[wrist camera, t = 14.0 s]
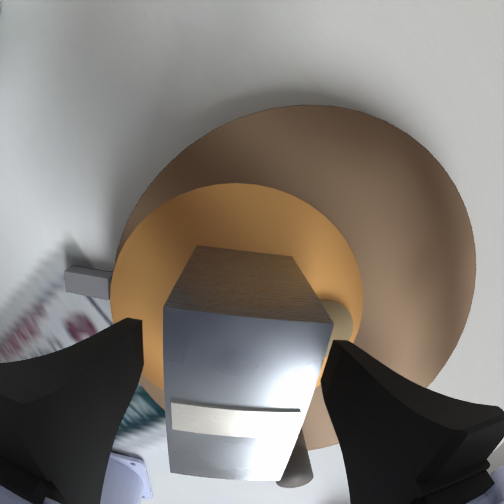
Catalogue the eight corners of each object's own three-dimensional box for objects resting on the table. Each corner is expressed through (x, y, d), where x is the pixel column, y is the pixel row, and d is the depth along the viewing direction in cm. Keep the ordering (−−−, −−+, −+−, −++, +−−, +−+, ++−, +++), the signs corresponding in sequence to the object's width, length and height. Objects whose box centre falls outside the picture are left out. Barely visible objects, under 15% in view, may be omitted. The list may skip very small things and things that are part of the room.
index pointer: (74, 285, 15) (65, 291, 14) (72, 265, 15) (64, 271, 14) (115, 292, 15) (108, 300, 14) (115, 272, 15) (107, 278, 14)
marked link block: (189, 378, 14) (170, 474, 8) (197, 244, 12) (162, 308, 6) (266, 386, 14) (280, 482, 8) (291, 256, 13) (335, 325, 7)
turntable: (266, 462, 19) (273, 518, 14) (63, 273, 15) (5, 314, 9) (482, 316, 17) (529, 350, 11) (350, 49, 12) (398, 2, 7)
